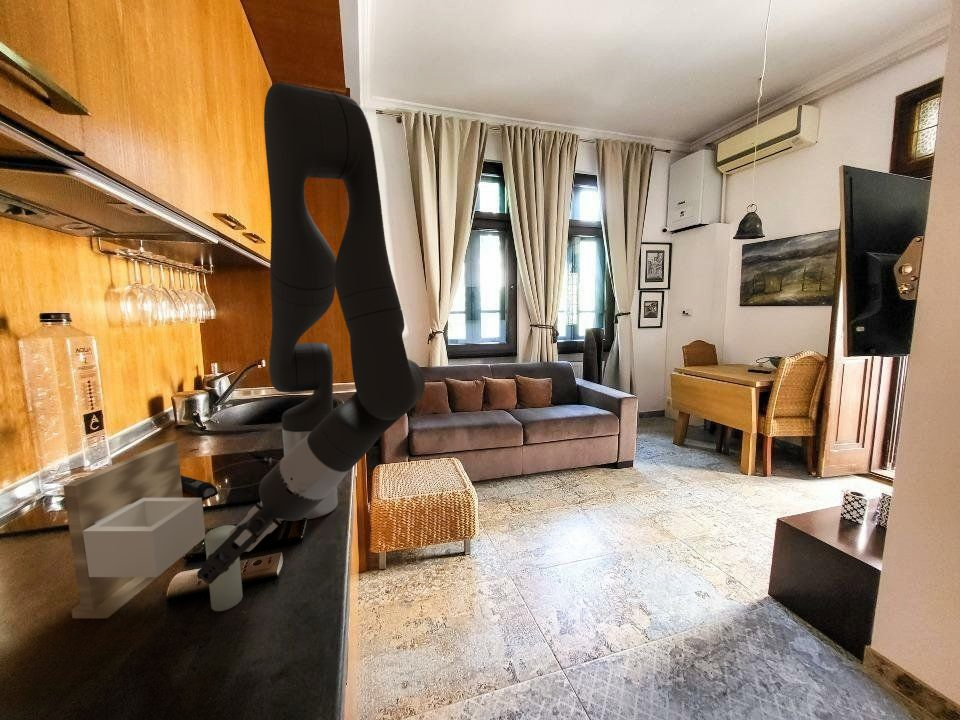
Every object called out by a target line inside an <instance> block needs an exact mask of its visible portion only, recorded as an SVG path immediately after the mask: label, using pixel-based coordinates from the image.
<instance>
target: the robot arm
mask: <svg viewBox="0 0 960 720" xmlns="http://www.w3.org/2000/svg"><path fill="white" fill-rule="evenodd" d="M263 130H264V132H263V133H264V144H265V155H266V167H267V176H268V177H267V178H268V188H269V189H268V191H269V200H270V201H269V202H270V203H269V204H270V224H271V226H270V260H269V261H270V263H269V269H270V270H269V281H270V285H269V286H270V287H269V288H270V301H271V336H270V347H269V361H268V370H269V373H268V374H269V379H270V382H271V385H272V387H273V388H274V390H276V391H278V392H279V393H300V392H308V391H309V392H310V391H313V393H312V394H311V396H309V398H307V399H306V400H305V401H303V402H302V403H299V404H297V405H295V406H293V407H290V408H288V409H286V410H285V411H284V412H283V413H282V416H281V428H282V429H281V430H282V442H283V457H282V458H281V459H280V460H279V461H278V462H277V463H276V464H275V466H274V465H273V466H274V467H272V468H271V470H270V471H268V472H267V473H266V475H265V476H264V477H263V478H261V481H260V482H259V486H258V495H259V498H260V502H257V503H256V504H255V505H253V507H252V508H251V509H249V510H248V511H247V515H246V516H245V517H244V518H243V519H242V520H241V521H240V522H239V523H238V524H236V525H235V526H236V527H235V528H234V529H233V530H232V531H231V532H230V533H229V538H228V539H227V540H226V541H225V542H224V543H223V544H222V545H221V546H220V547H218V548H217V549H216V550H215V552H214V553H213V554H212V553H211V554H210V555H209V556H208V559H207V558H206V559H205V562H206V563H205V564H204V565H202V567H201V568H199V570H198V571H197V576H198V578H200V579H201V580H203V582H205V583H206V584H208V585H209V584H211V583H212V582H213V581H214V580H215V579H216V578H217V577H218V576H219V575H220V574H223V573H224V571H225V572H226V571H227V570H228V569H229V568H228V567H229V566H230V565H233V564H234V563H235V560H236V559H237V558H238V557H239V558H240V557H241V556H242V554H243V553H245V552H251V551H252V550H254V548H255V547H256V546H257V545H258V544H259V543H260V542H261V541H262V540H263V539H264V538H265V537H266V536H267V535H268V534H272V533H273V532H274V530H276V529H277V528H278V526H279V525H280V524H282V521H284V520H285V521H291V522H295V521H300V520H304V519H303V518H306V519H305V520H311V519H315V518H319V517H322V516H325V515H328V514H329V513H331V512H333V511H334V510H335V509H336V508H337V506H338V503H339V501H338V485H339V484H340V483H341V482H342V480H343V479H344V478H345V477H346V475H347V474H348V473H349V472H350V470H351V469H352V468H353V467H354V466H355V465H356V464H357V463H358V462H360V460H361V459H362V458H364V456H366V454H367V453H369V451H370V449H372V447H373V446H375V443H376V442H377V441H378V440H379V439H380V437H381V436H382V435H383V434H384V433H385V432H386V431H388V429H389V428H391V427H392V426H393V425H394V424H395V423H396V422H397V421H398V420H400V419H401V418H402V417H403V416H404V415H406V414H407V413H408V412H409V411H410V410H411V409H412V408H413V407H414V406H415V405H416V404H418V402H419V401H420V399H422V396H423V394H424V392H425V388H426V379H425V375H424V372H423V370H422V368H421V367H420V366H419V365H418V364H417V363H416V362H414V361H413V360H411V359H409V358H408V356H407V351H406V347H405V342H404V340H403V339H404V338H403V333H404V330H405V320H404V319H405V318H404V312H403V310H402V306H401V303H400V299H399V296H398V291H397V288H396V283H395V280H394V277H393V273H392V270H391V265H390V261H389V256H388V249H387V243H386V237H385V236H386V235H385V228H384V219H383V209H382V201H381V193H380V192H381V191H380V184H379V178H378V170H377V162H376V155H375V147H374V144H373V138H372V136H373V135H372V132H371V129H370V125H369V122H368V118H367V116H366V114H365V111H364V110H363V107H361V105H360V103H358V101H357V100H355V99H354V98H352V97H350V96H346V95H343V94H340V93H337V92H336V93H335V92H333V91H326V90H322V89H321V90H320V89H317V88H311V87H307V86H300V85H295V84H291V83H285V82H276V83H273V84H271V86H270V87H269V88H268V91H267V93H266V96H265V101H264V109H263ZM307 178H312V179H326V180H328V179H329V180H342V181H343V183H344V186H345V189H346V193H347V199H348V217H347V221H346V227H345V229H344V233H343V236H342V240H341V242H340V246H339V249H338V251H337V256H336V255H335V254H334V251H333V250H332V248H331V246H330V245H329V243H328V241H327V239H325V236H324V235H323V234H322V232H321V231H320V229H319V228H318V226H317V224H316V223H315V222H314V220H313V218H312V216H311V214H310V212H309V210H308V207H307V203H306V197H305V183H306V180H307ZM335 293H336V295H337V297H338V302H339V305H340V308H341V312H342V316H343V319H344V322H345V326H346V328H347V331H348V333H349V334H348V335H349V342H350V344H349V345H350V346H349V347H350V357H351V359H350V360H351V367H352V377H353V383H354V388H355V392H354V393H353V394H352V395H351V397H349V399H348V400H347V401H345V402H343V403H342V404H340V405H339V406H337V407H336V408H334V397H333V396H334V395H333V393H334V391H333V390H334V389H333V388H334V387H333V384H334V383H333V382H334V380H333V379H334V360H333V355H332V350H331V348H330V346H329V345H328V344H327V343H325V342H302V343H301V342H299V343H298V341H299V340H300V338H301V337H302V336H303V335H304V334H305V333H306V332H308V330H310V328H312V326H314V325H315V324H316V323H317V322H318V321H319V320H320V319H321V318H322V317H323V316H324V315H325V314H326V313H327V312H328V310H329V309H330V308H331V306H332V304H333V302H334V298H335Z"/></svg>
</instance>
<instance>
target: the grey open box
mask: <svg viewBox="0 0 960 720" xmlns="http://www.w3.org/2000/svg"><path fill="white" fill-rule="evenodd" d="M203 506H204V505H203V500H202V498H198V497H183V498H142V499H140V500H138V501H136V502H134V503H133V504H128V505H126V506H124V507H122V508H120V509H119V510H117V511H115V512H113V513H111V514H109V515H108V516H106V517H104V518H102V519H100V520H98V521H97V522H95V523H94V525H93V526H91V527H89V528H87V529H86V530H84V531H83V537H84V544H85V551H86V558H87V565H88V573H89V577H157V578H159V576H161V575H162V574H164V572H166V571H167V570H168V569H169V568H170V567H172V566H173V565H174V564H175V563H176V562H178V561H179V560H180V559H181V558H182V557H184V556H185V555H186V554H187V553H189V552H190V551H191V550H192V549H193V548H194V546H195V547H196V546H197V545H199V543H201V542H202V541H203V540H205V535H206V529H205V518H204V517H205V515H204V507H203ZM189 550H190V551H189ZM188 551H189V552H188ZM183 555H184V556H183ZM177 560H178V561H177ZM172 564H173V565H172ZM171 565H172V566H171ZM166 569H167V570H166ZM160 574H161V575H160Z"/></svg>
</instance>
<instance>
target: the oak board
mask: <svg viewBox="0 0 960 720" xmlns="http://www.w3.org/2000/svg"><path fill="white" fill-rule="evenodd" d="M179 455H180V454H179V446H178V441H166V442H165V443H162V444H159V445H157V446H154V447H151V448H150V449H148V450H145V451H142V452H140V453H137V454H136V455H132V456H131V457H128V458H126V459H124V460H121V461H119V462H117V463H114V464H112V465H109V466H107V467H105V468H102V469H100V470H98V471H95V472H92V473H90V474H87V475H86V476H83V477H80V478H79V479H75V480H74V481H71V482H69V483H66V484H64V485H62V487H63V495H64V500H65V507H66V515H67V520H68V528H69V529H68V530H69V536H70V542H71V543H70V544H71V549H72V556H73V563H74V570H75V577H76V585H77V591H78V598H79V604H76V606H74V607H73V608H72V609H71V615H72V619H108V618H110V617H111V616H112V615H113V614H115V613H116V612H117V611H119V610H120V609H121V608H122V607H123V606H124V605H126V604H127V603H129V601H130V600H132V599H133V598H134V597H135V596H136V595H138V594H139V593H140V592H141V591H142V590H144V589H145V588H146V587H148V586H149V585H150V584H151V583H152V582H154V581H155V580H156V579H157V578H158V577H89V573H88V565H87V558H86V551H85V544H84V537H83V531H84V530H86V529H87V528H89V527H91V526H93V525H94V523H95V522H97V521H98V520H100V519H102V518H104V517H106V516H108V515H109V514H111V513H113V512H115V511H117V510H119V509H120V508H122V507H124V506H126V505H128V504H133V503H134V502H136V501H138V500H140V499H142V498H184V495H183V491H182V483H181V475H182V474H181V465H180V456H179ZM190 551H191V550H189V551H188V552H187V553H189V552H190ZM184 556H185V555H183V556H182V557H184ZM178 561H179V560H177V561H176V562H178ZM173 565H174V564H172V565H171V566H170V567H172V566H173ZM167 570H168V569H166V570H165V571H167ZM161 575H162V574H160V575H159V576H161Z"/></svg>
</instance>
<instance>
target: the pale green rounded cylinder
mask: <svg viewBox="0 0 960 720" xmlns="http://www.w3.org/2000/svg"><path fill="white" fill-rule="evenodd" d="M236 526H237V525H233V524H230V525H229V524H228V525H221V526H218V527H215V528H213V529H211V530H209V531H208V532H207V533H205V538H204V544H205V546H204V547H205V554H206V555H205V556H206V560H207V559H208V556H209V555H210V554H211V553H212V554H213V553H214V552H215V550H216V549H217V548H218V547H220V546H221V545H222V544H223V543H224V542H225V541H226V540H227V539H228V538H229V533H230V532H231V531H232V530H233V529H234V528H235V527H236ZM228 568H229V569H228V570H227V571H226V572H225V571H224V573H223V574H220V575H219V576H218V577H217V578H216V579H215V580H214V581H213V582H212V583H211V584H208V585H209V586H208V587H209V596H210V607H211V610H213V611H214V612H222V611H223V612H224V611H227V610H229V609H231V608H234V607H235V606H237V605H238V604H239V603H240V602H241V601H242V599H243V597H244V595H243V584H242V583H243V582H242V571H241V560H240V556H239V557H238V558H237V559H236V560H235V563H234V564H233V565H230V566H229V567H228Z"/></svg>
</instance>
